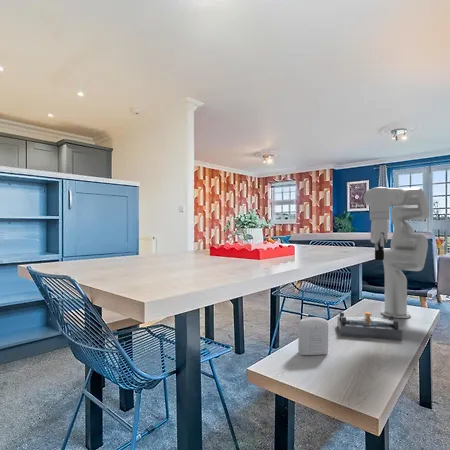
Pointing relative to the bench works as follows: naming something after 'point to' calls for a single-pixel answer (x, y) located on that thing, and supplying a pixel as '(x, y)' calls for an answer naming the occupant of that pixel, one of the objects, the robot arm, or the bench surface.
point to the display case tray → (369, 328)
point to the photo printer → (313, 336)
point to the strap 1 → (354, 319)
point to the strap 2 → (382, 320)
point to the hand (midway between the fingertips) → (379, 259)
